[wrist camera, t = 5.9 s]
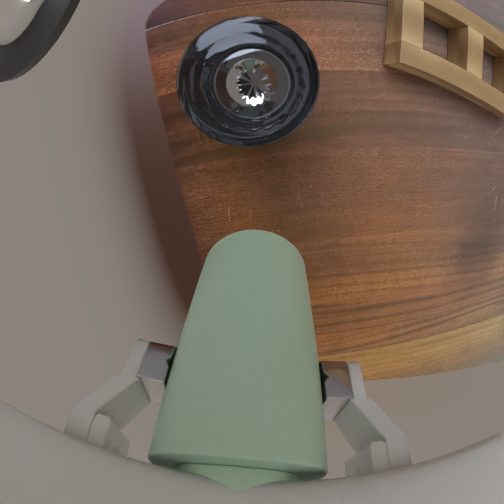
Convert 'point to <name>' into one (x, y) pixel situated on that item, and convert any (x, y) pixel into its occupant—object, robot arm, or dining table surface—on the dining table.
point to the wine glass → (248, 81)
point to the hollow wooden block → (459, 49)
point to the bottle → (246, 371)
